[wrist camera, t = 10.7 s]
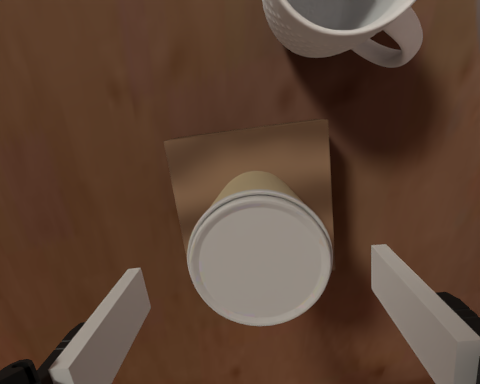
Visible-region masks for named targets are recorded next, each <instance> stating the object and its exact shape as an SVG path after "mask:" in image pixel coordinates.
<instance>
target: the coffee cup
mask: <svg viewBox="0 0 480 384" xmlns="http://www.w3.org/2000/svg"><path fill="white" fill-rule="evenodd" d="M187 264H188V269H189V273H190V276H191V279H192V281H193V284H194V286H195V288H196V290H197V291H198V293H199V295H200V296H201V297H202V299H203V300H204V301H205V302H206V303H207V305H209V306H210V307H211V308H212V309H213V310H214V311H216V312H217V313H218V314H220V315H222V316H223V317H225V318H227V319H229V320H232V321H235V322H238V323H241V324H245V325H252V326H270V325H276V324H280V323H284V322H287V321H289V320H291V319H294V318H296V317H298V316H300V315H301V314H302V313H304V312H305V311H307V310H308V309H309V308H310V307H311V306H312V305H313V304H314V303H315V302H316V301H317V300H318V299H319V297H320V296H321V294H322V293H323V291H324V290H325V287H326V285H327V282H328V280H329V277H330V274H331V270H332V265H333V250H332V244H331V240H330V237H329V234H328V232H327V229H326V228H325V226H324V224H323V222H322V221H321V220H320V218H319V217H318V216H317V215H316V214H315V213H314V212H313V210H311V209H310V208H309V207H308V206H307V205H306V204H304V203H303V202H302V200H301V199H300V198H299V197H298V196H297V195H296V194H295V193H294V192H293V191H292V190H291V189H290V188H289V187H288V185H287V184H286V183H284V182H283V181H282V180H281V179H280V178H278V177H277V176H275V175H273V174H271V173H268V172H263V171H250V172H246V173H243V174H240V175H239V176H237V177H235V178H234V179H232V180H231V181H230V182H229V183H228V184H227V185H226V186H225V188H224V189H223V190H222V191H221V193H220V194H219V195H218V197H217V198H216V200H215V201H214V202H213V204H212V205H211V207H210V208H209V209H208V210H207V211H206V212H205V213H204V214H203V215H202V217H201V218H200V219H199V221H198V222H197V224H196V225H195V227H194V229H193V231H192V234H191V236H190V240H189V244H188V249H187Z"/></svg>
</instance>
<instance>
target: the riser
mask: <svg viewBox="0 0 480 384" xmlns="http://www.w3.org/2000/svg"><path fill="white" fill-rule="evenodd" d="M164 146H165V151H166V156H167V161H168V166H169V172H170V177H171V182H172V187H173V192H174V197H175V202H176V207H177V212H178V217H179V222H180V227H181V232H182V237H183V242H184V247H185V252H186V257H187V249H188V244H189V240H190V236H191V234H192V231H193V229H194V227H195V225H196V224H197V222H198V221H199V219H200V218H201V217H202V215H203V214H204V213H205V212H206V211H207V210H208V209H209V208H210V207H211V205H212V204H213V202H214V201H215V200H216V198H217V197H218V195H219V194H220V193H221V191H222V190H223V189H224V188H225V186H226V185H227V184H228V183H229V182H230V181H231V180H232V179H234V178H235V177H237V176H239V175H240V174H243V173H246V172H250V171H263V172H268V173H271V174H273V175H275V176H277V177H278V178H280V179H281V180H282V181H283V182H284V183H286V184H287V185H288V187H289V188H290V189H291V190H292V191H293V192H294V193H295V194H296V195H297V196H298V197H299V198H300V199H301V200H302V202H303V203H304V204H306V205H307V206H308V207H309V208H310V209H311V210H313V212H314V213H315V214H316V215H317V216H318V217H319V218H320V220H321V221H322V222H323V224H324V226H325V228H326V229H327V232H328V234H329V237H330V240H331V244H332V250H333V265H332V270H331V271H333V270H335V252H334V231H333V211H332V191H331V170H330V150H329V129H328V120H323V119H313V120H305V121H298V122H290V123H283V124H275V125H268V126H260V127H253V128H245V129H237V130H230V131H222V132H215V133H207V134H200V135H192V136H185V137H178V138H174V139H171V140H167V141H164ZM190 277H191V276H190ZM191 282H192V283H193V281H192V279H191Z"/></svg>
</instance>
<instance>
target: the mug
mask: <svg viewBox="0 0 480 384" xmlns="http://www.w3.org/2000/svg"><path fill="white" fill-rule="evenodd" d="M415 1H416V0H262V2H263V9H264V12H265V16H266V18H267V21H268V24H269V26H270V28H271V30H272V32H273V34H274V35H275V36H276V38H277V40H279V41H280V43H281V44H283V46H284V47H286V48H287V49H289V50H290V51H291V52H294V53H295V54H299V55H300V56H304V57H309V58H324V57H330V56H333V55H336V54H340V53H342V52H345V51H347V50H350V49H351V50H353V51H354V52H355V53H357V54H358V55H359V56H361V57H363V58H365V59H366V60H368V61H370V62H372V63H374V64H377V65H379V66H383V67H388V68H395V67H400V66H402V65H404V64H406V63H407V62H408V61H410V60H411V59H412V58H413V57H414V56H415V54H416V53H417V52H418V50H419V48H420V47H421V44H422V40H423V32H422V28H421V25H420V22H419V19H418V17H417V15H416V14H415V12H414V11H413V9H412V8H411V5H412V4H413V3H414V2H415ZM382 30H383V31H384V32H386V33H387V34H388V35H389V36H390V37H391V38H393V39H394V40H395V41H396V42H397V43H398V45H399V46H400V48H401V50H396V49H392V48H388V47H386V46H383V45H381V44H379V43H377V42H375V41H373V40H371V39H370V38H371V37H373V36H374V35H375V34H376V33H378V32H380V31H382Z"/></svg>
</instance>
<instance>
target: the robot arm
mask: <svg viewBox="0 0 480 384" xmlns="http://www.w3.org/2000/svg"><path fill="white" fill-rule="evenodd" d="M371 287H372V290H373V292H374V293H375V295H376V296H377V298H378V299H379V301H380V302H381V304H382V305H383V307H384V308H385V310H386V311H387V313H388V314H389V316H390V317H391V318H392V320H393V321H394V323H395V324H396V326H397V327H398V329H399V330H400V332H401V333H402V335H403V336H404V338H405V339H406V341H407V342H408V344H409V345H410V347H411V348H412V350H413V351H414V352H415V354H416V355H417V357H418V358H419V360H420V361H421V363H422V364H423V366H424V367H425V369H426V370H427V372H428V373H429V375H430V376H431V378H432V379H433V381H434V382H435V383H436V384H480V318H479V317H478V315H477V314H475V313H474V312H473V311H472V310H470V308H469V307H468V306H467V305H465V304H464V303H463V302H462V301H461V300H460V299H458V298H456V297H455V296H453V295H451V294H449V293H447V292H439V293H435V292H434V291H433V290H432V289H431V288H430V287H429V286H428V285H427V284H426V283H425V282H424V281H423V280H422V279H421V278H420V277H419V276H418V275H416V274H415V273H414V272H413V271H412V270H411V269H410V268H409V267H408V266H407V265H406V264H405V263H404V262H403V261H402V260H401V259H400V258H399V257H398V256H397V255H396V254H395V253H394V252H393V251H392V250H391V249H390V248H389V247H388V246H387V245H386V244H382V245H372V246H371ZM150 308H151V306H150V302H149V298H148V294H147V290H146V286H145V282H144V278H143V275H142V271H141V268H134V269H128V270H127V271H126V272H125V274H124V275H123V276H122V277H121V279H120V280H119V281H118V282H117V284H116V285H115V286H114V287H113V289H112V290H111V291H110V293H109V294H108V295H107V296H106V298H105V299H104V300H103V301H102V303H101V304H100V305H99V306H98V308H97V309H96V310H95V311H94V313H93V314H92V315H91V316H90V318H89V319H88V320H87V321H86V322H83V323H80V324H78V325H77V326H76V327H75V328H73V329H72V330H71V331H70V332H69V333H68V334H67V335H66V336H65V338H64V339H63V340H62V342H60V344H59V345H58V346H57V347H56V350H54V351H53V352H52V353H51V354H50V356H49V357H48V358H47V359H46V360H45V362H44V363H43V364H42V365H41V366H40V368H39V369H38V370H37V371H36V369H35V366H34V364H33V362H32V360H29V359H24V360H19V361H17V362H14V363H12V364H10V365H8V366H7V367H5V368H3V369H2V370H1V371H0V384H111V383H112V381H113V379H114V377H115V376H116V374H117V372H118V370H119V368H120V366H121V364H122V362H123V360H124V358H125V356H126V354H127V353H128V351H129V349H130V347H131V345H132V343H133V341H134V339H135V337H136V335H137V333H138V331H139V330H140V328H141V326H142V324H143V322H144V320H145V318H146V316H147V314H148V312H149V310H150Z"/></svg>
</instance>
